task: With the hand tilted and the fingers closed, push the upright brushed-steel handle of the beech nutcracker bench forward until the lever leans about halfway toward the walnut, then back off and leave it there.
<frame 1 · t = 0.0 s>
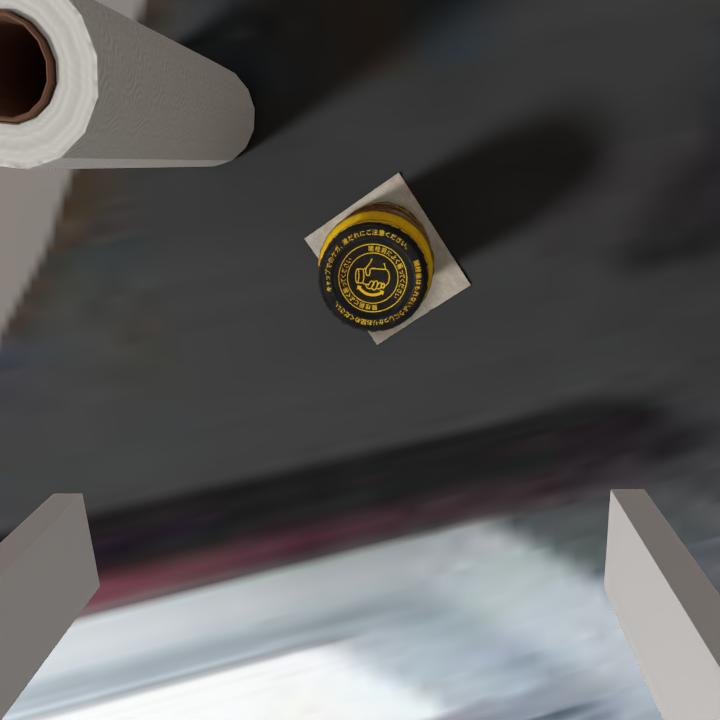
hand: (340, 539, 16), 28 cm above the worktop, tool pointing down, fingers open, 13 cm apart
condiment: (387, 260, 42), on the worktop
paper towel roll: (204, 107, 40), on the worktop
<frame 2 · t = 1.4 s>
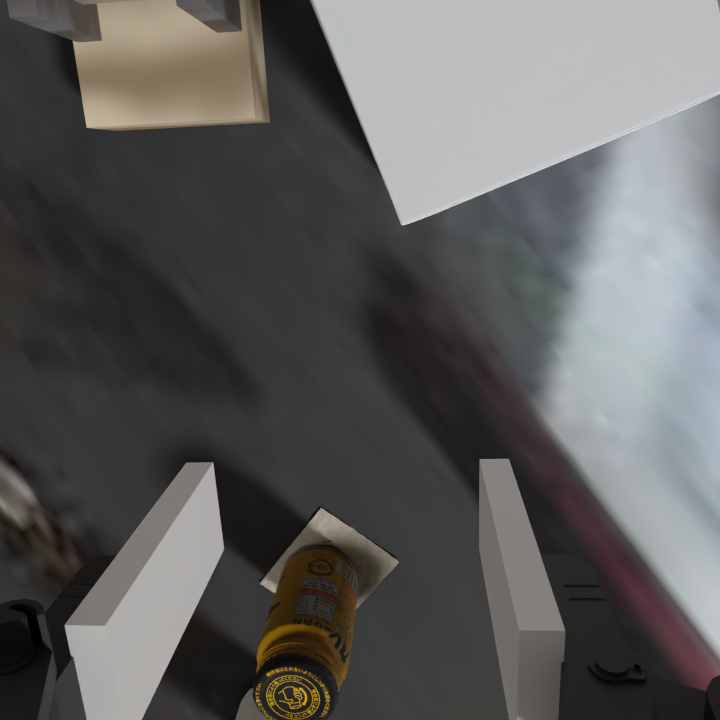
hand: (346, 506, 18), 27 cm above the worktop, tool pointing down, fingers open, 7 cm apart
supplement box: (463, 58, 39), on the worktop
condiment: (329, 569, 50), on the worktop
paper towel roll: (272, 710, 55), on the worktop
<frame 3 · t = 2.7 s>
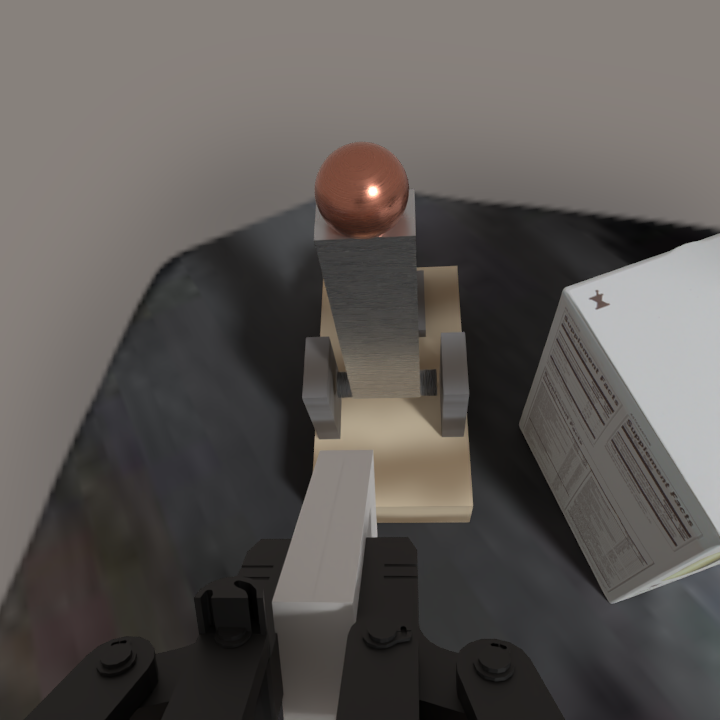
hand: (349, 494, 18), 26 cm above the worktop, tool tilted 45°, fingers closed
supplement box: (647, 477, 44), on the worktop
nutcracker bench: (393, 400, 48), on the worktop
lever: (376, 289, 32), point 17 cm above the worktop, hinge at 0.0°
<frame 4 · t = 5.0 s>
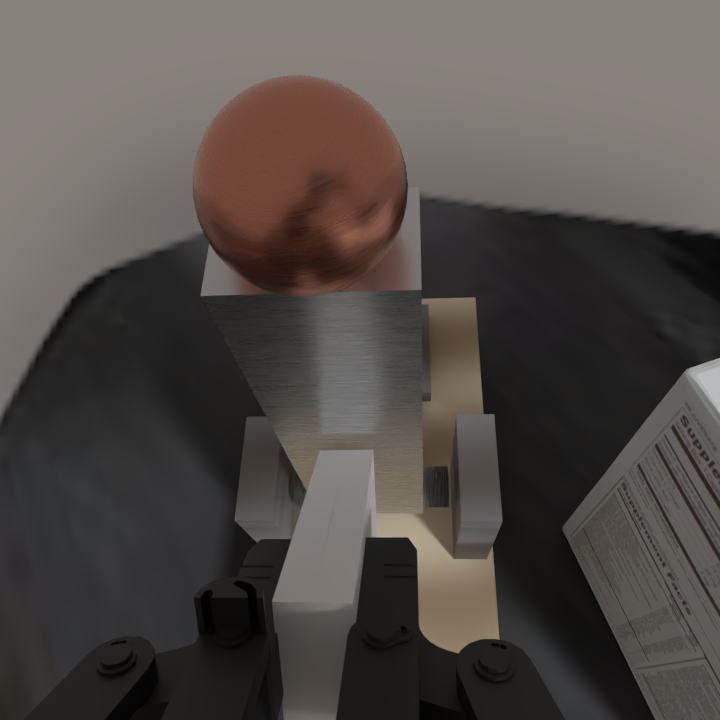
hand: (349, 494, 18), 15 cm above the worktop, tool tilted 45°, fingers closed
nutcracker bench: (383, 485, 34), on the worktop
lever: (350, 363, 18), point 17 cm above the worktop, hinge at 0.0°, touching gripper
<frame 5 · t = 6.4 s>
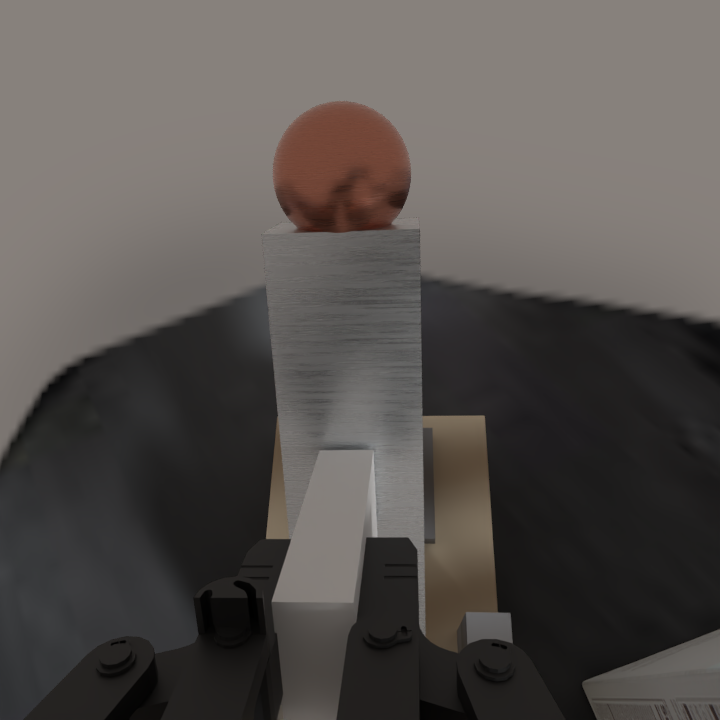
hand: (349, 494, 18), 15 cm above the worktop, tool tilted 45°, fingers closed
nutcracker bench: (382, 625, 31), on the worktop
lever: (358, 435, 20), point 14 cm above the worktop, hinge at 43.7°
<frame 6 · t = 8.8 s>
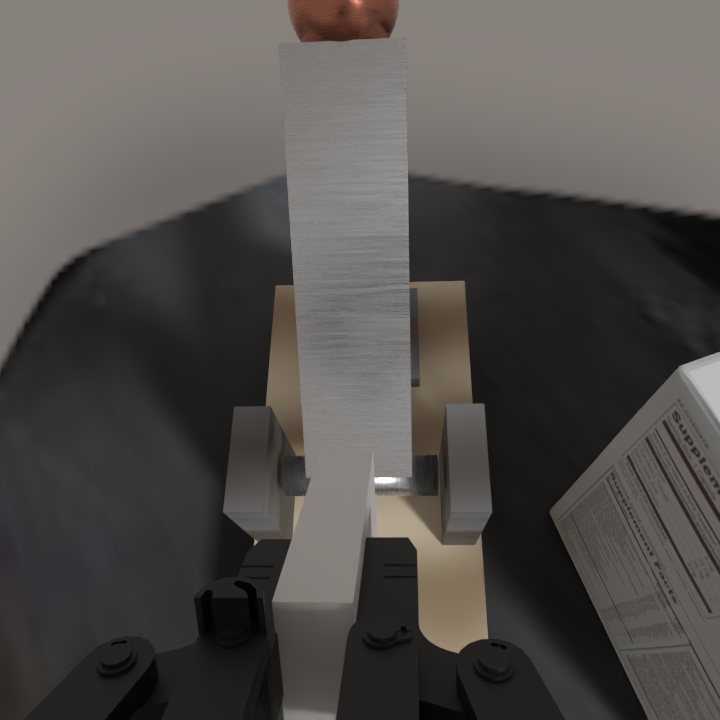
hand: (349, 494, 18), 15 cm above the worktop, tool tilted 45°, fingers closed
nutcracker bench: (372, 470, 34), on the worktop
lever: (354, 246, 24), point 13 cm above the worktop, hinge at 48.3°
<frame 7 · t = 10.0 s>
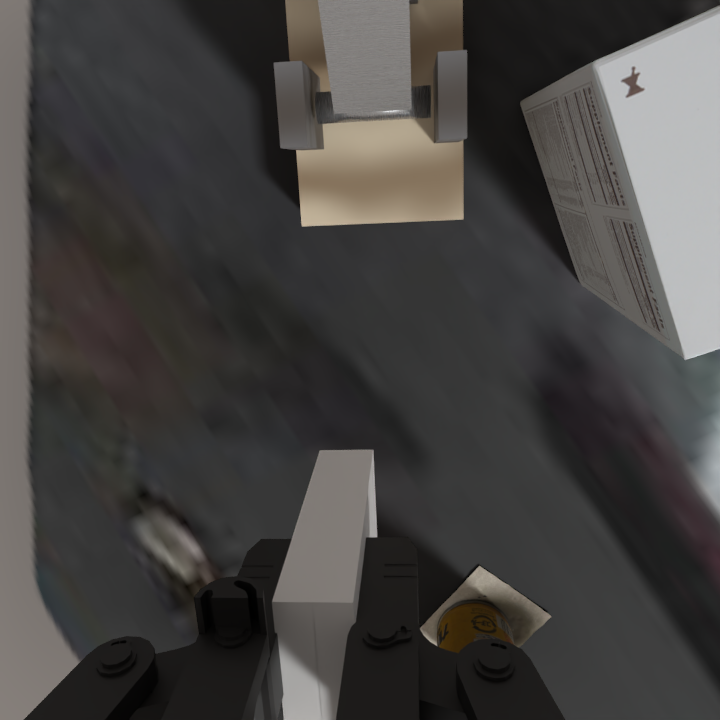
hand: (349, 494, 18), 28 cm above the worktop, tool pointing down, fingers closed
supplement box: (647, 158, 42), on the worktop
nutcracker bench: (378, 73, 41), on the worktop
condiment: (481, 622, 53), on the worktop
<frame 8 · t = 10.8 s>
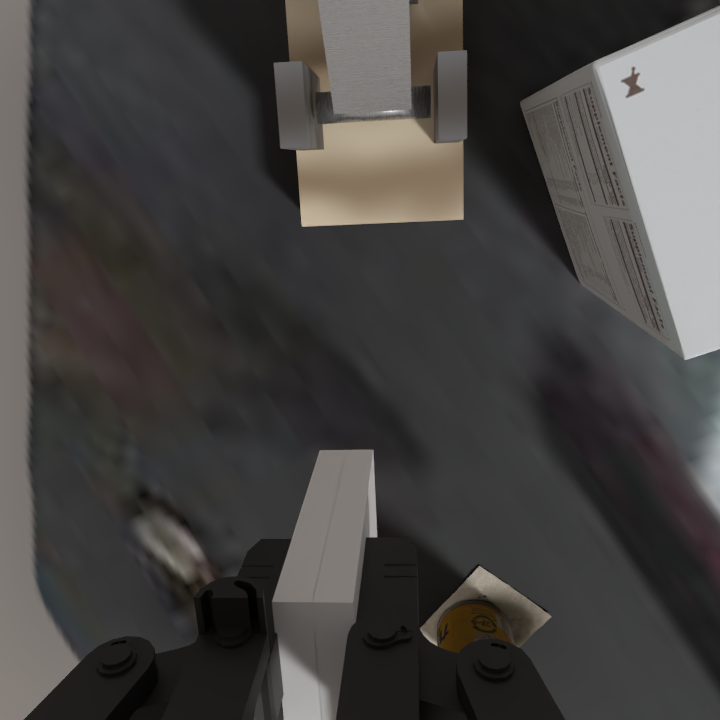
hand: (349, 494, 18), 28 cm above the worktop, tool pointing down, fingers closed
supplement box: (647, 158, 42), on the worktop
nutcracker bench: (378, 73, 41), on the worktop
condiment: (481, 622, 53), on the worktop
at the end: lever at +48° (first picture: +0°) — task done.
